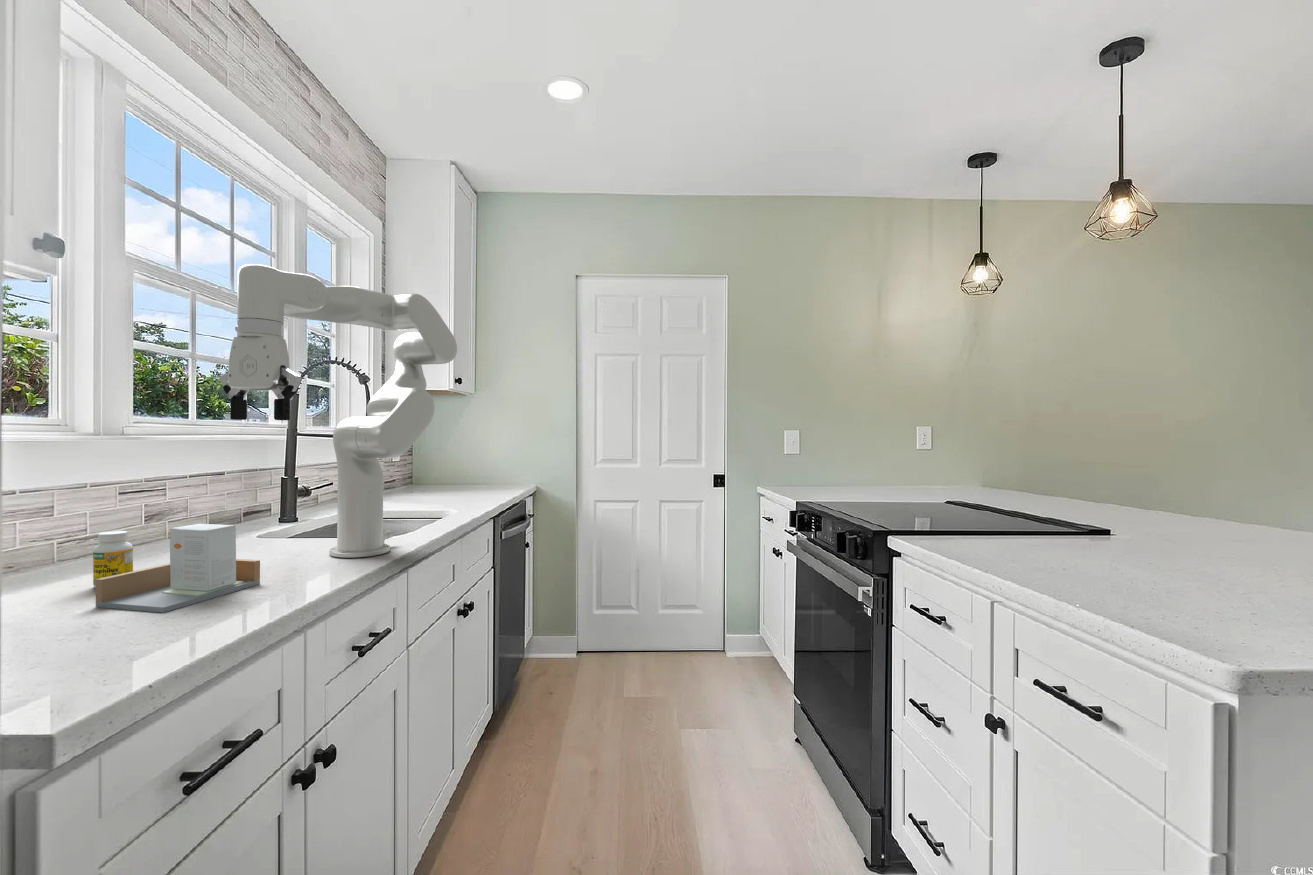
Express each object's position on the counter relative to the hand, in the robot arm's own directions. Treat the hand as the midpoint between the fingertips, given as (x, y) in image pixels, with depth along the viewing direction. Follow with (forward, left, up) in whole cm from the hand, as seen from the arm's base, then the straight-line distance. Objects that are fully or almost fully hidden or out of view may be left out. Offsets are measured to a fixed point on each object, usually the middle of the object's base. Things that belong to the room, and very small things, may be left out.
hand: (260, 419), depth 117 cm
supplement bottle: (+12, -19, -31) cm, 38 cm away
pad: (+12, +1, -30) cm, 33 cm away
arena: (+14, -1, -30) cm, 33 cm away
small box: (+12, 0, -30) cm, 32 cm away
